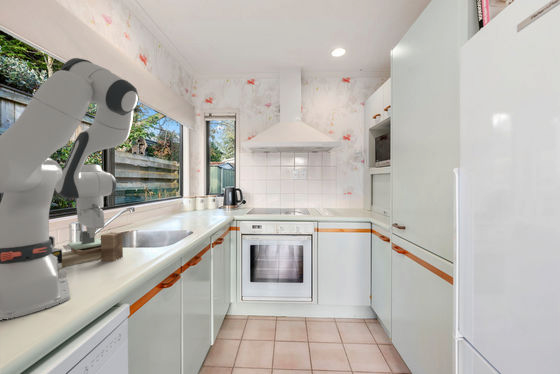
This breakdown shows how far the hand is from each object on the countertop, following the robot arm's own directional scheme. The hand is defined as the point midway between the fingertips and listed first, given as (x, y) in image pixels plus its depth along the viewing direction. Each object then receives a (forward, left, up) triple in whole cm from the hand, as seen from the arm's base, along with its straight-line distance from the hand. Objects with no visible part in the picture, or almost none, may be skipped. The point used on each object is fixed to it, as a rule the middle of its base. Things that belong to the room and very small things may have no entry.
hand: (91, 237), depth 104 cm
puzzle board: (-2, +4, -8) cm, 9 cm away
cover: (+3, 0, -3) cm, 5 cm away
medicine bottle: (-6, +16, -8) cm, 19 cm away
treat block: (-12, -3, -8) cm, 15 cm away
